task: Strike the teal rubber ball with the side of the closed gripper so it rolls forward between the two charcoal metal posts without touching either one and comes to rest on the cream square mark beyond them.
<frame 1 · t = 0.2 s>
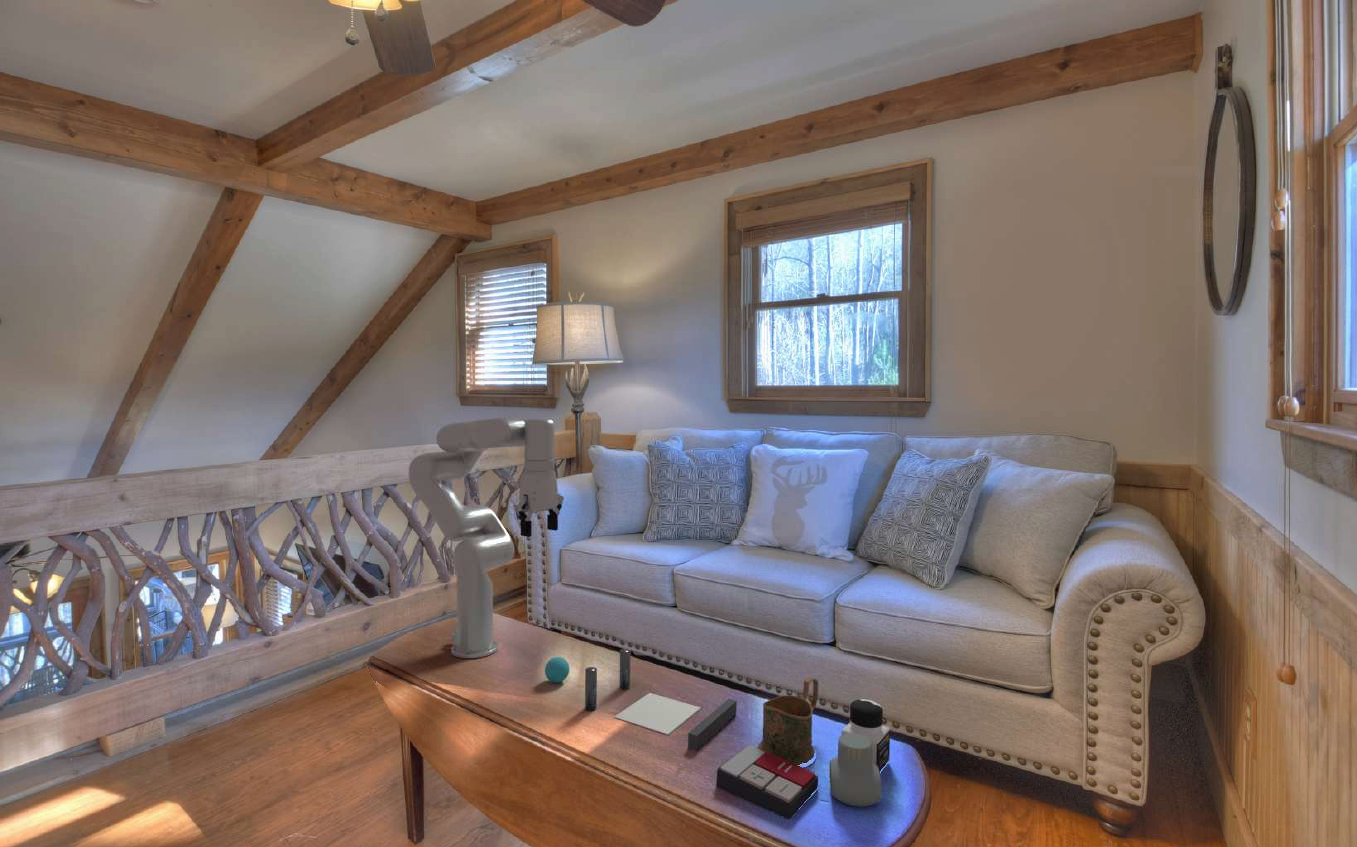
hand: (539, 532, 165), 36 cm above the table, tool pointing down, fingers open, 9 cm apart
ball: (557, 669, 159), on the table
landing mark: (658, 712, 143), on the table
air freshener: (854, 797, 113), on the table
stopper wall: (713, 729, 136), on the table
post 1: (590, 708, 145), on the table
mug: (794, 747, 130), on the table
medicine bottle: (865, 766, 123), on the table
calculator: (766, 791, 115), on the table
post 2: (624, 687, 156), on the table
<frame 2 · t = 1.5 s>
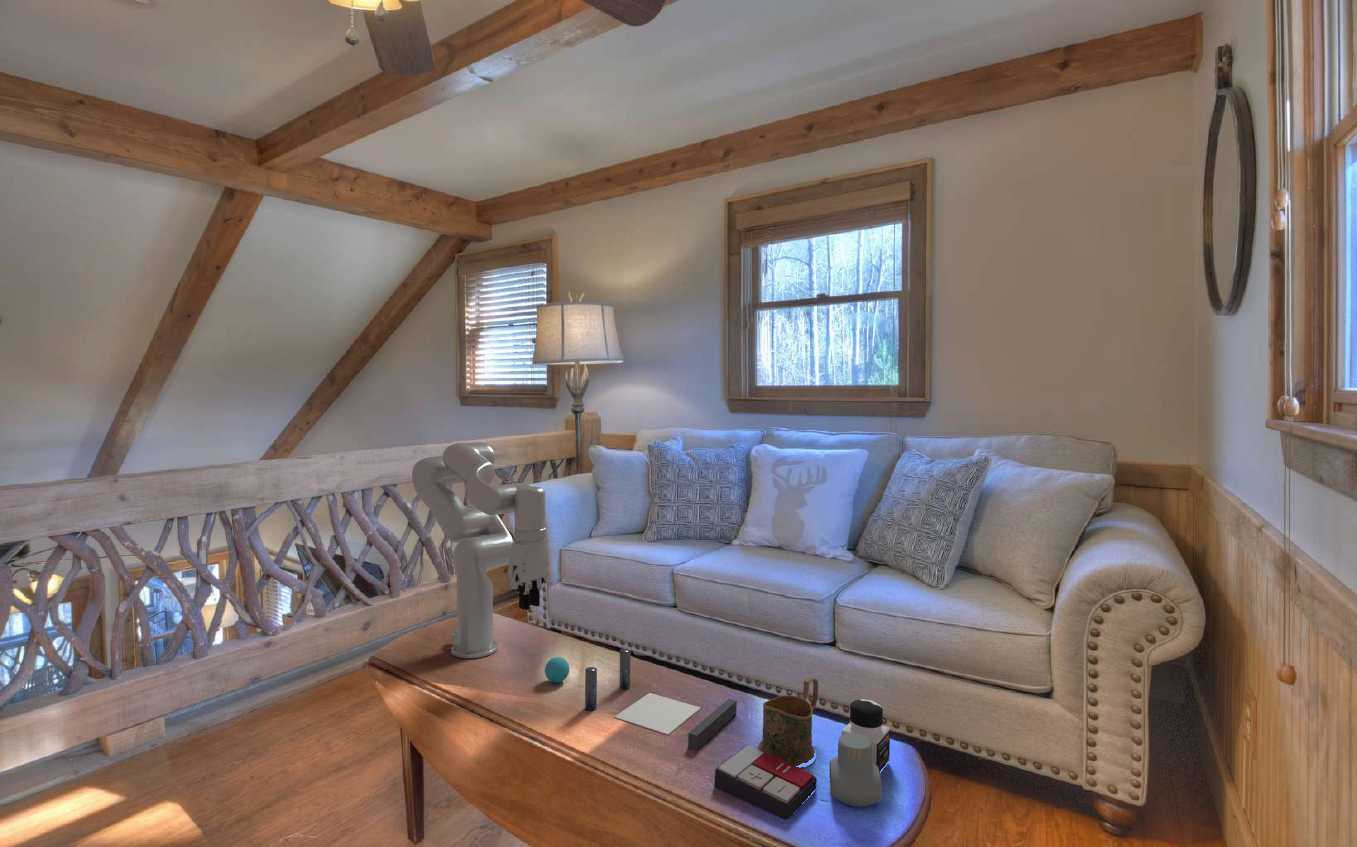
hand: (529, 606, 163), 17 cm above the table, tool pointing down, fingers closed
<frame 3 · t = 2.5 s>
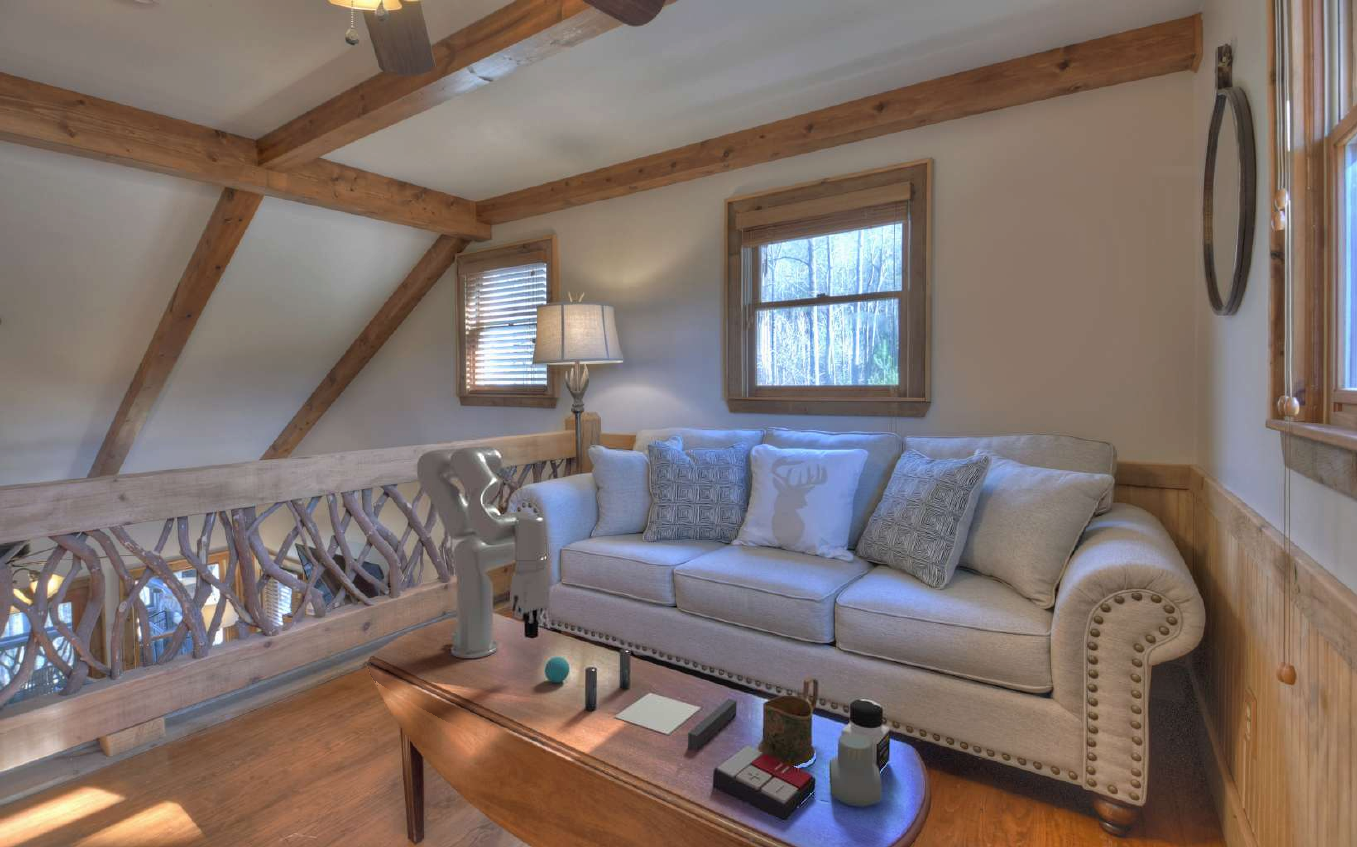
hand: (531, 636, 163), 10 cm above the table, tool pointing down, fingers closed
nothing on the table moved.
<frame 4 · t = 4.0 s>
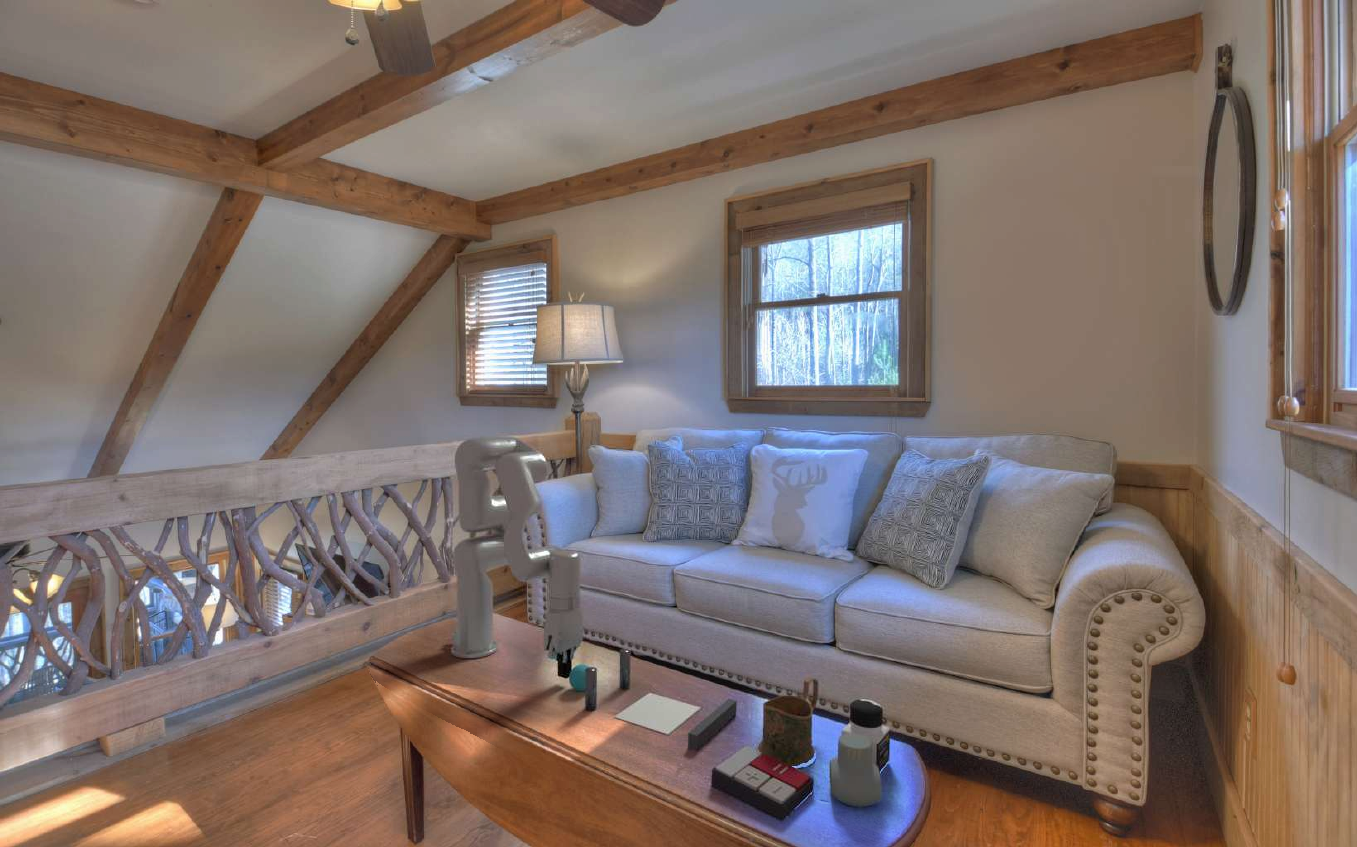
hand: (564, 676, 157), 2 cm above the table, tool pointing down, fingers closed
ball: (581, 677, 154), on the table
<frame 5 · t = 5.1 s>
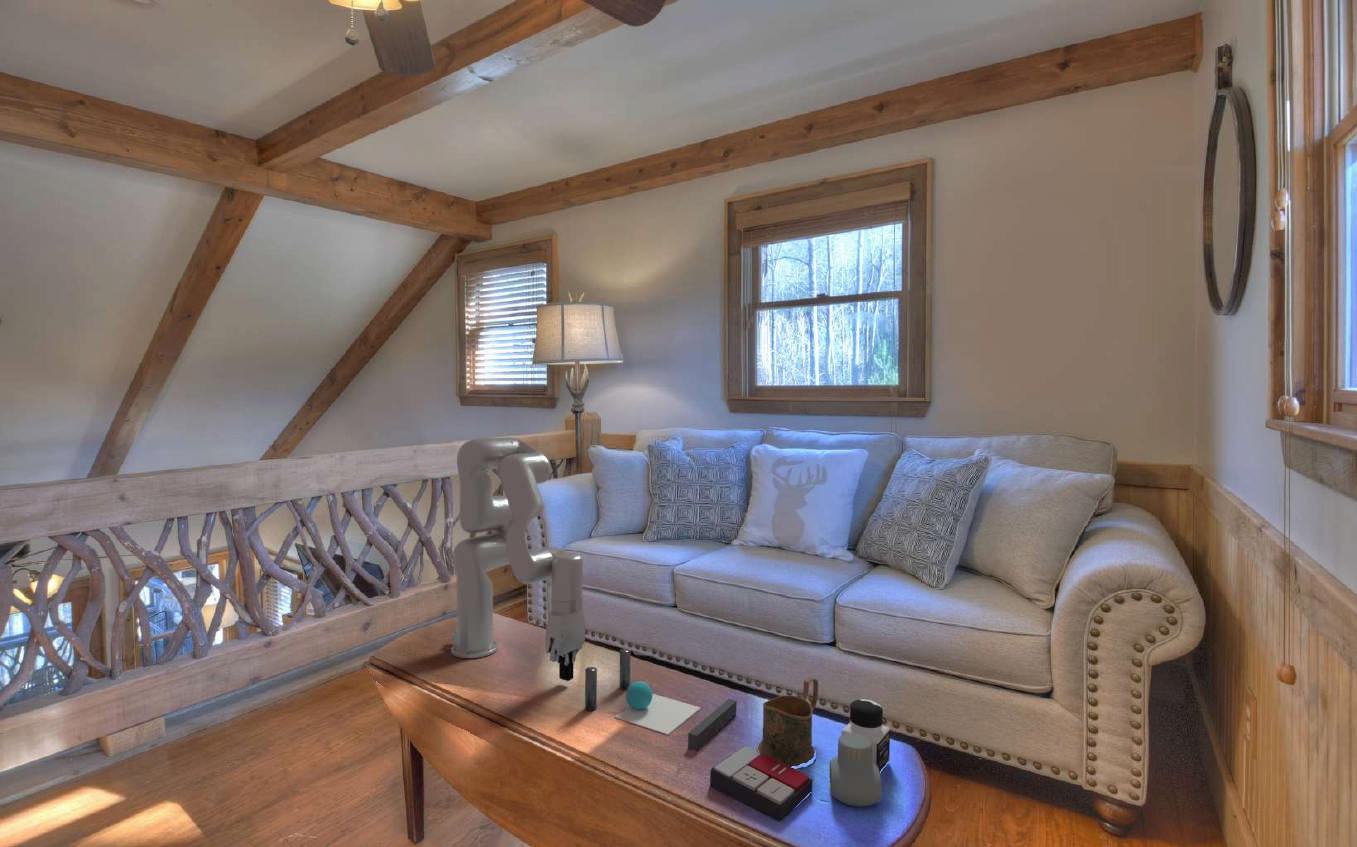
hand: (566, 678, 157), 2 cm above the table, tool pointing down, fingers closed
ball: (639, 695, 145), on the table
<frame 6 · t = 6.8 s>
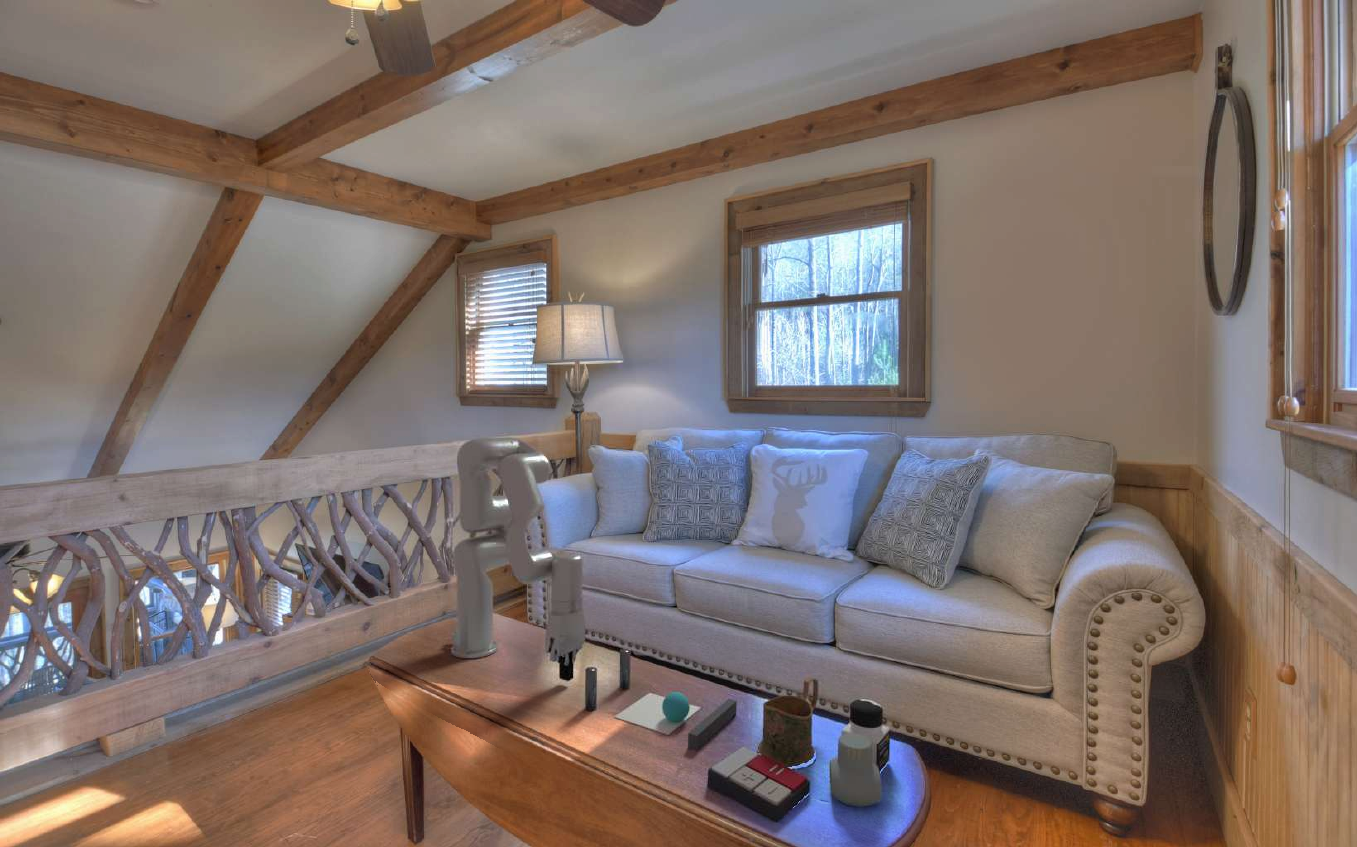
hand: (566, 678, 157), 2 cm above the table, tool pointing down, fingers closed
ball: (675, 706, 140), on the table
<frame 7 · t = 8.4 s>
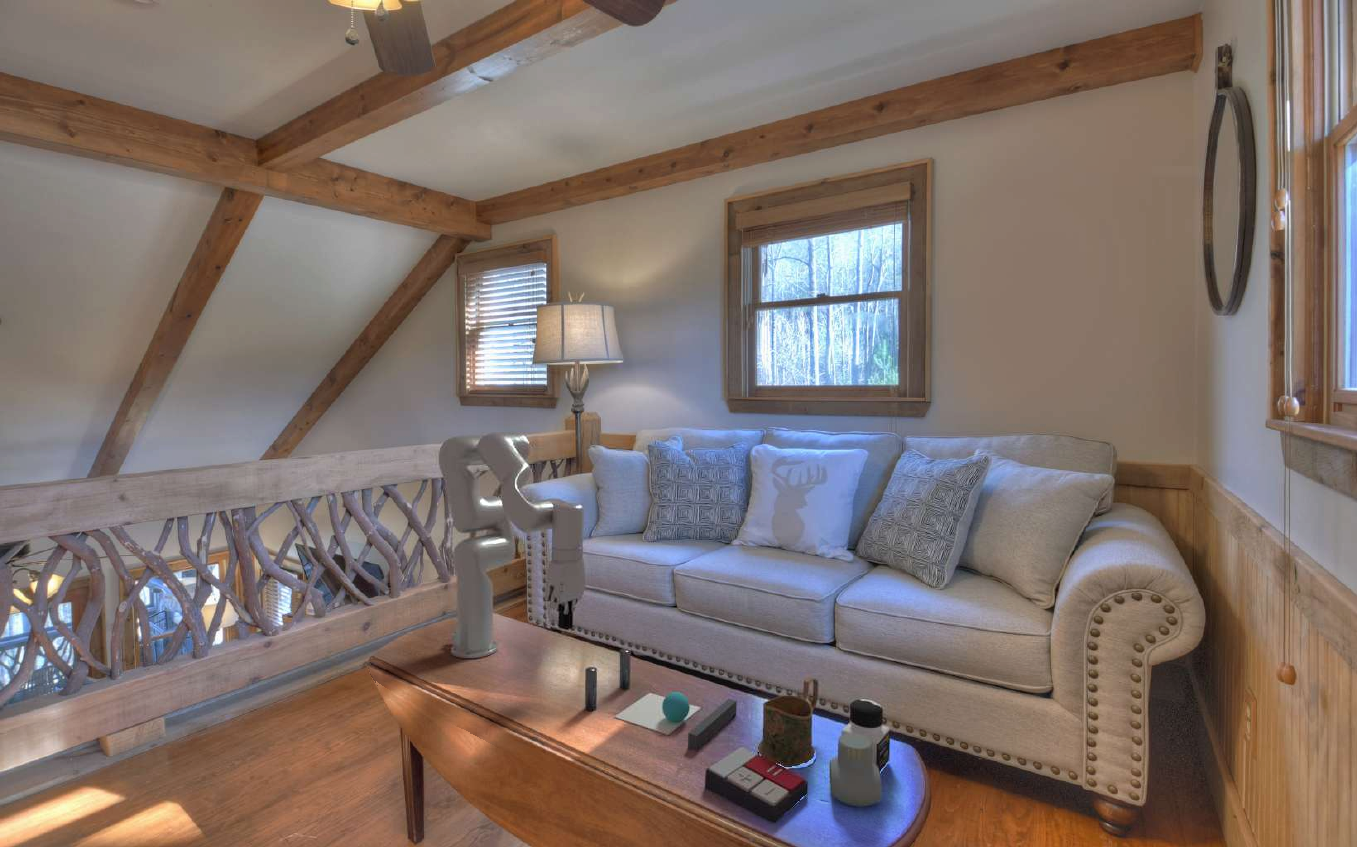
hand: (565, 627, 157), 14 cm above the table, tool pointing down, fingers closed
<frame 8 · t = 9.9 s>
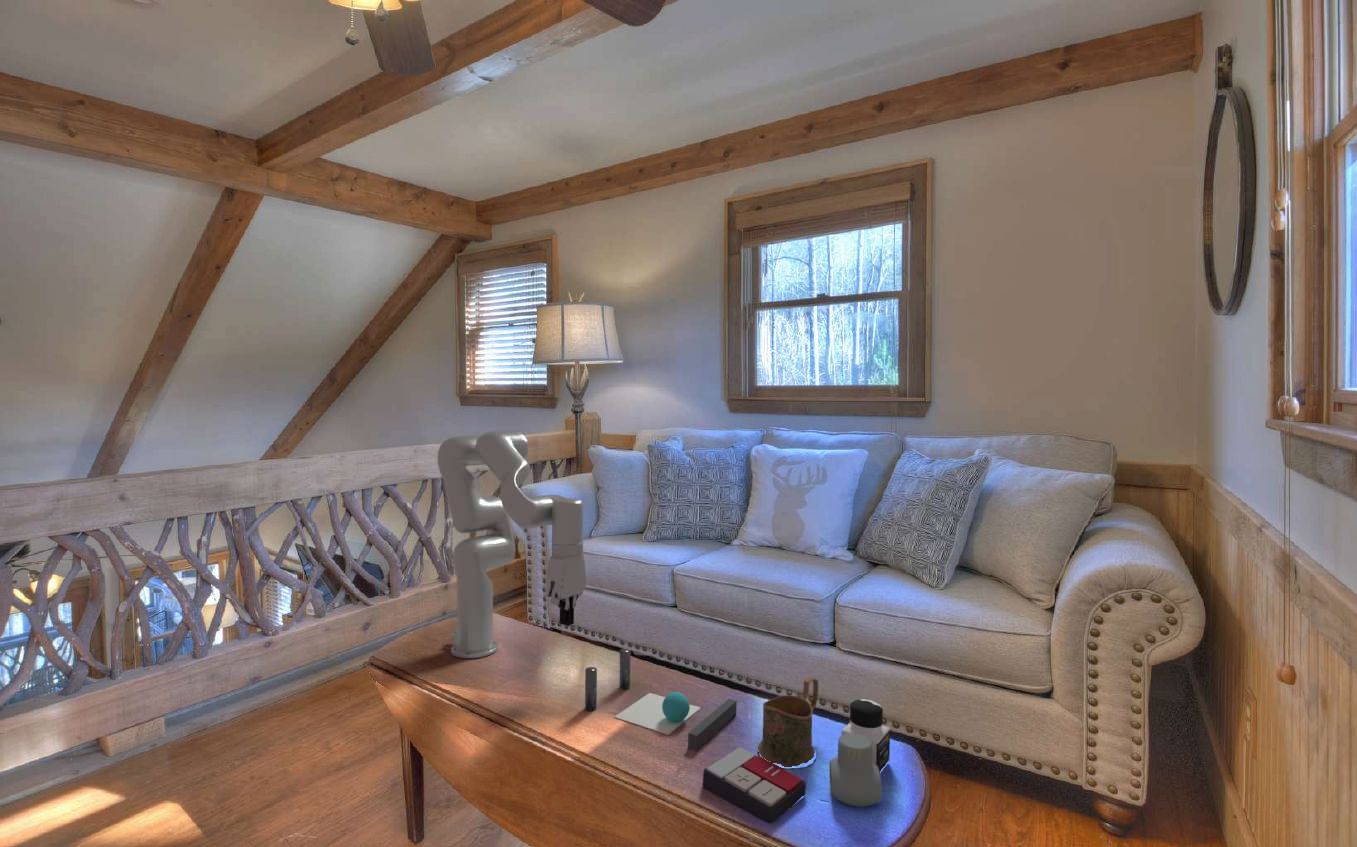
hand: (566, 623, 157), 15 cm above the table, tool pointing down, fingers closed
at the end: ball 5.1 cm from the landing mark (horizontally); ball never touched post 2; ball never touched post 1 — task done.
